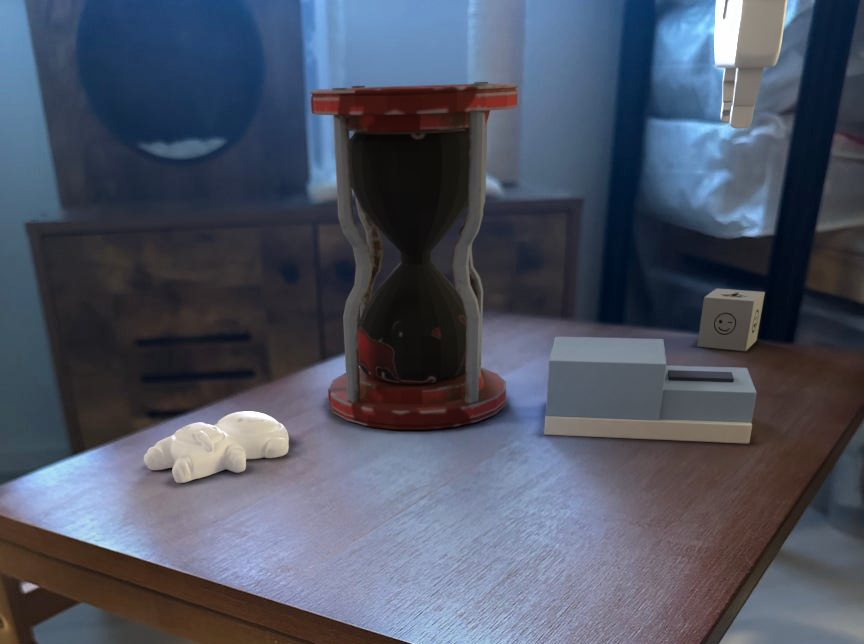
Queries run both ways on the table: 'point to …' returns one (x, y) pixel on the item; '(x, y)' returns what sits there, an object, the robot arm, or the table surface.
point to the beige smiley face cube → (730, 319)
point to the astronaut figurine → (218, 446)
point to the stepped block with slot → (643, 393)
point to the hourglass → (413, 252)
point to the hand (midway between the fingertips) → (734, 125)
